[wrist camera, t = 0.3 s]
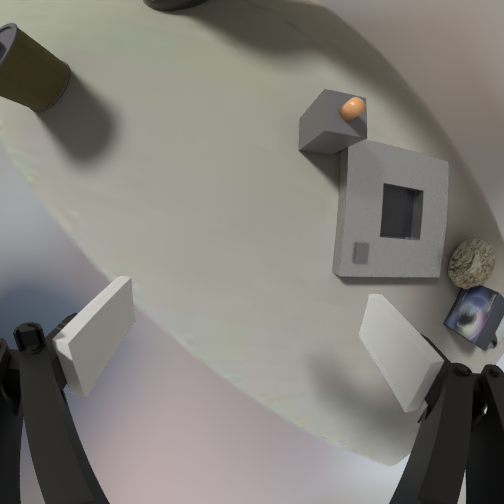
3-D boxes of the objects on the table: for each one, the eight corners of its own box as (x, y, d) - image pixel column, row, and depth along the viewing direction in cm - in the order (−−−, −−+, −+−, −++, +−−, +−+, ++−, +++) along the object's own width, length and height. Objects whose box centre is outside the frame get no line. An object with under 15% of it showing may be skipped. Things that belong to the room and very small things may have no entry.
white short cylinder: (496, 323, 48) (515, 333, 40) (477, 342, 48) (496, 354, 40) (494, 289, 46) (515, 297, 38) (474, 309, 46) (496, 319, 39)
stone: (435, 264, 43) (472, 276, 33) (463, 229, 42) (499, 236, 33) (447, 286, 44) (480, 302, 34) (472, 253, 44) (507, 262, 34)
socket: (340, 140, 38) (349, 135, 35) (438, 163, 40) (450, 161, 36) (332, 271, 42) (340, 277, 38) (429, 273, 43) (441, 278, 40)
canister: (77, 58, 32) (18, 6, 13) (59, 110, 34) (-16, 74, 14) (37, 65, 31) (-23, 28, 12) (20, 114, 33) (-51, 90, 13)
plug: (299, 118, 37) (333, 78, 23) (331, 123, 38) (377, 89, 23) (298, 150, 38) (334, 123, 24) (331, 154, 39) (380, 132, 24)
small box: (465, 277, 44) (500, 291, 34) (477, 289, 45) (510, 303, 35) (441, 323, 46) (473, 344, 35) (456, 332, 46) (486, 352, 36)
